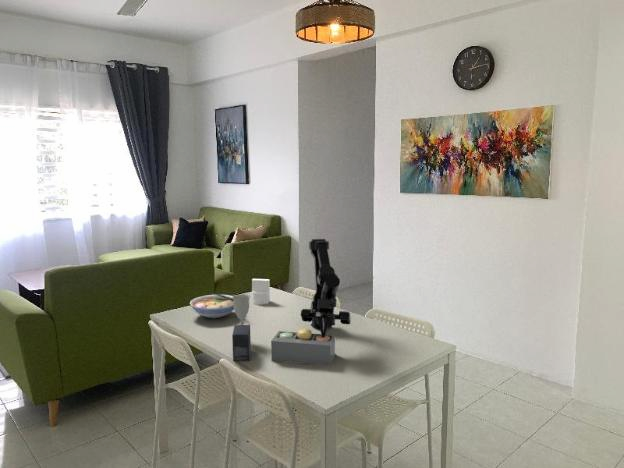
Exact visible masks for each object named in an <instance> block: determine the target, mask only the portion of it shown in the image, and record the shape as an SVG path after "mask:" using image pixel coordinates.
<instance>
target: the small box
mask: <svg viewBox="0 0 624 468" xmlns="http://www.w3.org/2000/svg"><path fill="white" fill-rule="evenodd" d="M231 338H232V339H231V340H232V341H231V342H232V343H231V344H232V362H248V361H251V354H252V343H251V342H252V341H251V340H252V339H251V324H243V325H241V324H234V326H233V330H232V337H231Z"/></svg>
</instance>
